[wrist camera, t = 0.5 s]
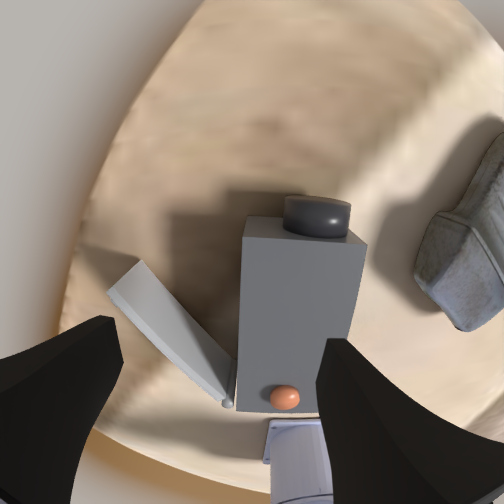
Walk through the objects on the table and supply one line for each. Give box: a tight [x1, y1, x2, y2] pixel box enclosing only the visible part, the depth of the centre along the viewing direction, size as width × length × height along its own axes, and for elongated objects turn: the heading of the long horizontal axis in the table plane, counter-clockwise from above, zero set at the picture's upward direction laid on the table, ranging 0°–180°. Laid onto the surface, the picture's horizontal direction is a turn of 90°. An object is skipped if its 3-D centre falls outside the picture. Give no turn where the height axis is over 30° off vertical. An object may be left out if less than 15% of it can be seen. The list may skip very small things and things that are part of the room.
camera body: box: [236, 195, 367, 413], centre depth 17 cm, size 14×6×6 cm, turn 177°
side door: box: [106, 259, 238, 408], centre depth 18 cm, size 11×1×5 cm, turn 37°
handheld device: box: [413, 132, 504, 332], centre depth 15 cm, size 10×20×5 cm, turn 144°
